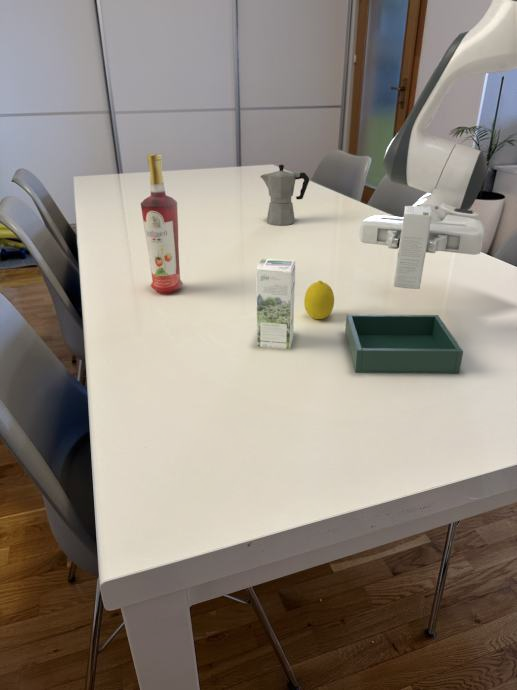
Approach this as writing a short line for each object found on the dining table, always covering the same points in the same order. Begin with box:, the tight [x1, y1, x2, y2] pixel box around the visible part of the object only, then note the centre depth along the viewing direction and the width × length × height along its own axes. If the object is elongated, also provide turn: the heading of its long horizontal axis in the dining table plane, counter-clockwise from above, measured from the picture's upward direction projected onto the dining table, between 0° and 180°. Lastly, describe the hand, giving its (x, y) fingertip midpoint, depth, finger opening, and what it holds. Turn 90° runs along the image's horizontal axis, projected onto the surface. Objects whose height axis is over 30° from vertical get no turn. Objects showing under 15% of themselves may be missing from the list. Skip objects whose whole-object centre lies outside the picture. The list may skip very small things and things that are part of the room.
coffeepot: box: [260, 164, 310, 226], centre depth 164 cm, size 15×9×18 cm, turn 87°
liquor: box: [140, 153, 184, 295], centre depth 106 cm, size 7×7×28 cm
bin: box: [344, 313, 464, 375], centre depth 83 cm, size 16×14×4 cm
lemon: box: [303, 280, 335, 320], centre depth 95 cm, size 6×6×8 cm
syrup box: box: [255, 258, 296, 350], centre depth 85 cm, size 6×6×14 cm
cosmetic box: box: [393, 205, 432, 290], centre depth 83 cm, size 6×4×12 cm
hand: (411, 246), depth 82 cm, fingers closed on cosmetic box, 4 cm apart
